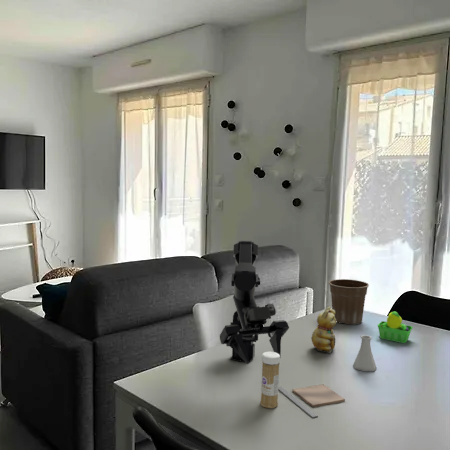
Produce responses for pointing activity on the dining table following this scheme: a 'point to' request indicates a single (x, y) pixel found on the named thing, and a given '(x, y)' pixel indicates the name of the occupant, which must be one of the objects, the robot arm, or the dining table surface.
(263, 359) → the sprinkles bottle
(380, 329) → the fruit basket
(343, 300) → the plant pot
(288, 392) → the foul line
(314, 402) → the board
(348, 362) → the dining table surface
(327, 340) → the decorative figurine
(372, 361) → the flask
